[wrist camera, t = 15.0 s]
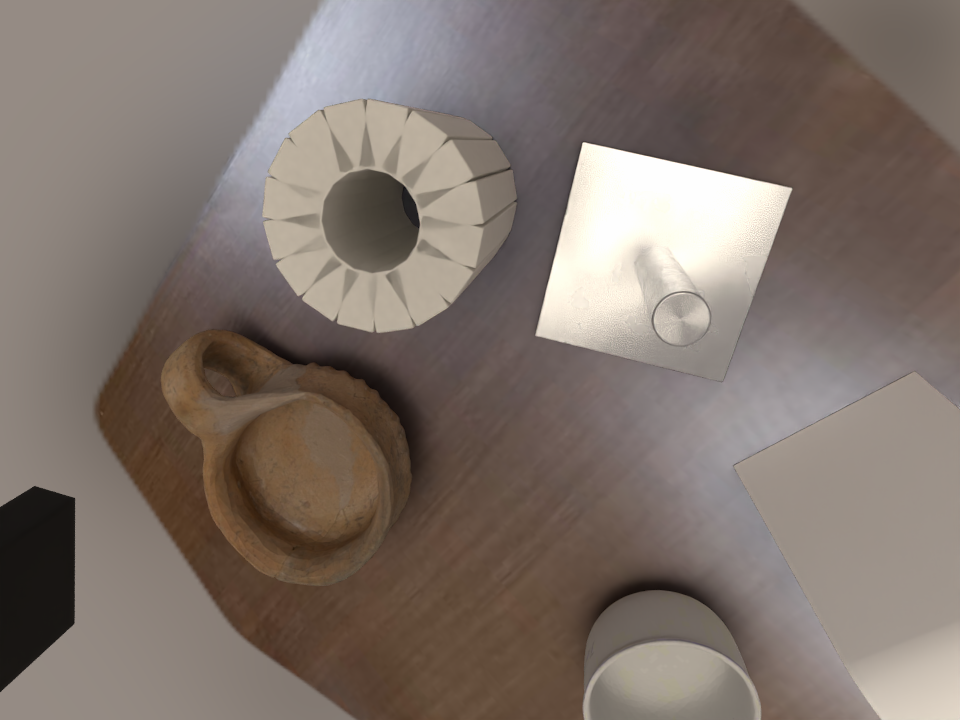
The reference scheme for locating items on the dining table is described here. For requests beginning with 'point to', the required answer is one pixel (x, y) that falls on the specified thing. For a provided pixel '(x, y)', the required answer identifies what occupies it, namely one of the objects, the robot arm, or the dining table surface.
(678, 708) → the teacup
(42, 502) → the robot arm
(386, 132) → the paper towel roll
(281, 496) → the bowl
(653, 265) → the towel stand
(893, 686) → the milk
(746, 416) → the dining table surface
